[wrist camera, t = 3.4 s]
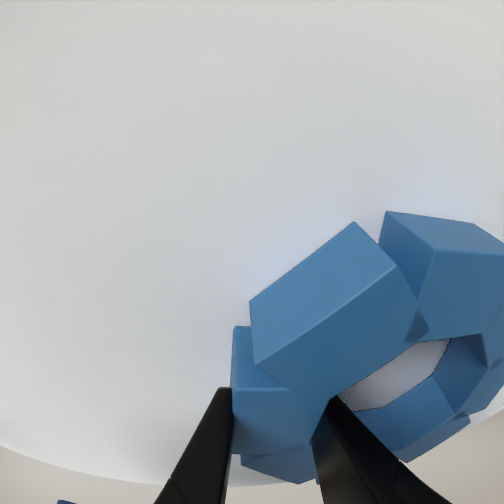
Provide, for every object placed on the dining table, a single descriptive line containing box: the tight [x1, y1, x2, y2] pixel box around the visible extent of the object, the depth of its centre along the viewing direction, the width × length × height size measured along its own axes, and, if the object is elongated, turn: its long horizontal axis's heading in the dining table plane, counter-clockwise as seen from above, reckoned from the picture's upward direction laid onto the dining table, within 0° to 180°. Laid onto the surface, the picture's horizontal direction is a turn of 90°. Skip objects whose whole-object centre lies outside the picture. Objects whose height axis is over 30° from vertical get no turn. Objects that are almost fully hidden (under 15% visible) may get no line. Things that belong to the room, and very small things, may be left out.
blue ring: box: [230, 211, 504, 484], centre depth 9 cm, size 11×11×2 cm
